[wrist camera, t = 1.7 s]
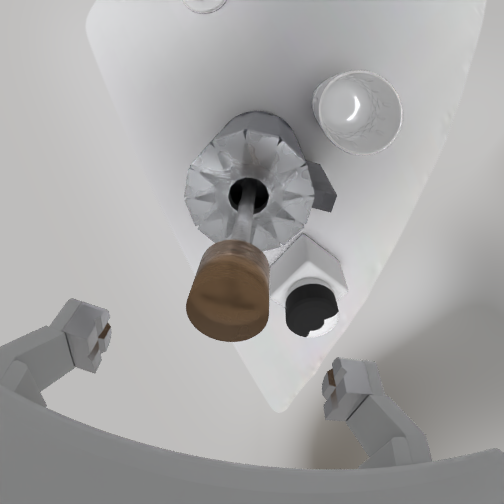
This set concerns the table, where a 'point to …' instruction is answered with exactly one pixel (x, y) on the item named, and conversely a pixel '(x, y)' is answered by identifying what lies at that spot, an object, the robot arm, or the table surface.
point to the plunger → (233, 276)
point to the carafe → (264, 169)
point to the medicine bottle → (308, 287)
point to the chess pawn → (204, 5)
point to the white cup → (358, 111)
